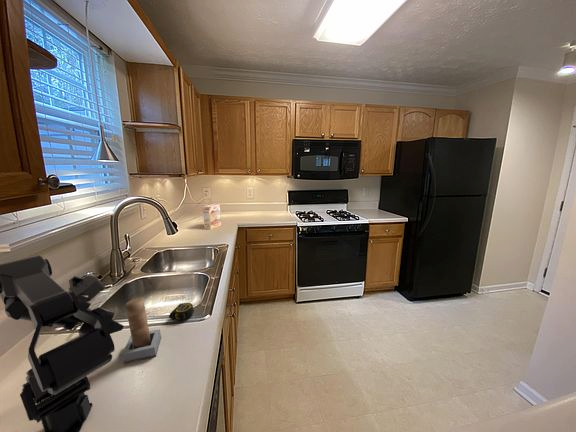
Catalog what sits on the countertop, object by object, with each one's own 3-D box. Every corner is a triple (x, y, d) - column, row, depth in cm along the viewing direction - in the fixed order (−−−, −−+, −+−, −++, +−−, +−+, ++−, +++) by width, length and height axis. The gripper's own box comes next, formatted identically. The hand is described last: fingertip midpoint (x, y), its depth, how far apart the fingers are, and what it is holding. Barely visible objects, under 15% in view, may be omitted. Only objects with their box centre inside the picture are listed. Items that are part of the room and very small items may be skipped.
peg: (132, 355, 69) (122, 308, 66) (136, 345, 73) (128, 300, 70) (149, 351, 70) (141, 305, 67) (153, 341, 74) (145, 297, 71)
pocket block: (123, 363, 67) (121, 354, 66) (132, 343, 74) (130, 335, 74) (155, 356, 69) (154, 347, 68) (161, 337, 77) (159, 329, 76)
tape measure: (181, 310, 91) (180, 301, 90) (197, 311, 90) (196, 302, 89) (169, 321, 85) (168, 312, 84) (187, 323, 83) (186, 313, 83)
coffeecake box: (211, 229, 203) (208, 206, 199) (204, 229, 206) (201, 206, 202) (221, 225, 217) (220, 203, 213) (215, 224, 220) (213, 203, 215)
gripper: (95, 279, 50) (152, 300, 62) (54, 264, 59) (111, 285, 71) (55, 336, 45) (126, 347, 57) (16, 311, 54) (85, 325, 66)
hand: (112, 322), depth 63 cm, fingers open, 9 cm apart
